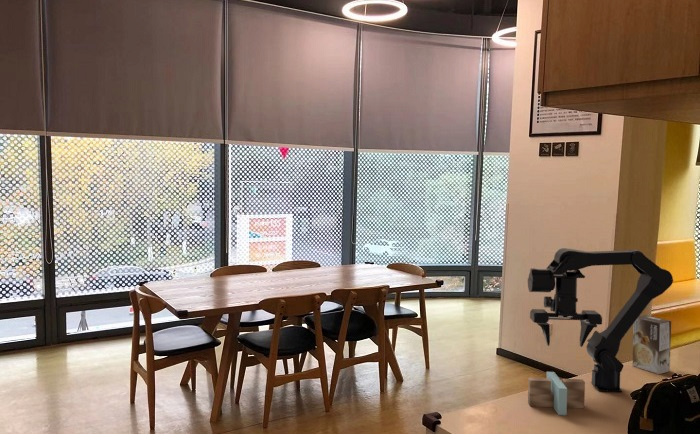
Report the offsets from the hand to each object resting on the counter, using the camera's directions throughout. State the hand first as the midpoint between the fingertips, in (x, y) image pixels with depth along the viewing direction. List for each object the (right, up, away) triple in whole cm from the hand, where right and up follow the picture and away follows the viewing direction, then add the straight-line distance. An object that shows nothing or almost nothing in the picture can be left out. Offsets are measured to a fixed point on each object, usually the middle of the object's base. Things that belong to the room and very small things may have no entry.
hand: (564, 345), depth 156 cm
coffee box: (+34, -11, +16) cm, 39 cm away
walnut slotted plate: (-7, -13, -12) cm, 19 cm away
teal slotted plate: (-7, -13, -12) cm, 19 cm away
